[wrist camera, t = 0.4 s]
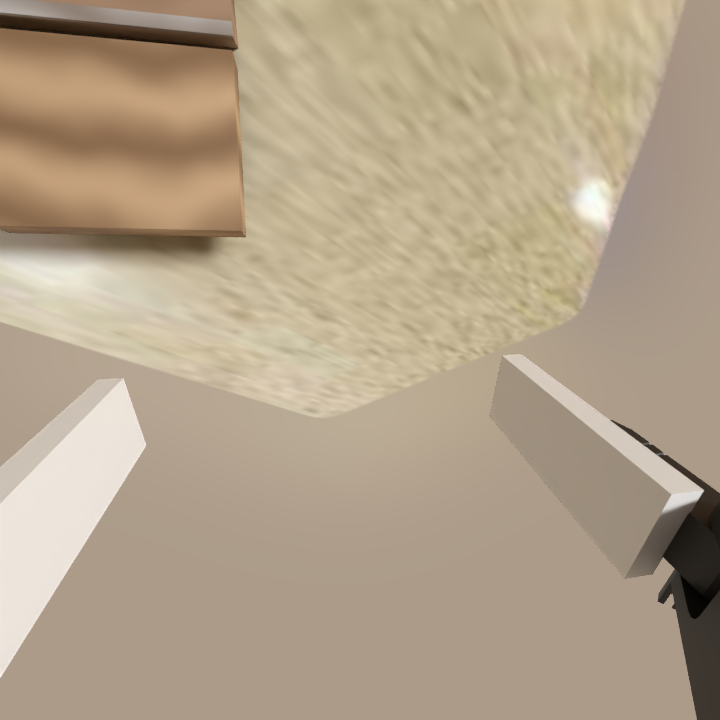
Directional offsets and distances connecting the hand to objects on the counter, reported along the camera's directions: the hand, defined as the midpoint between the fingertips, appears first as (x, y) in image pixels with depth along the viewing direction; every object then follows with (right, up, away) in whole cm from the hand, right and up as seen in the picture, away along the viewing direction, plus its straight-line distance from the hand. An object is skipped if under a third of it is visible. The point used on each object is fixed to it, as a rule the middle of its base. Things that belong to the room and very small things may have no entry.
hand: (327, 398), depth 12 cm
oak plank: (-17, +18, +15) cm, 29 cm away
